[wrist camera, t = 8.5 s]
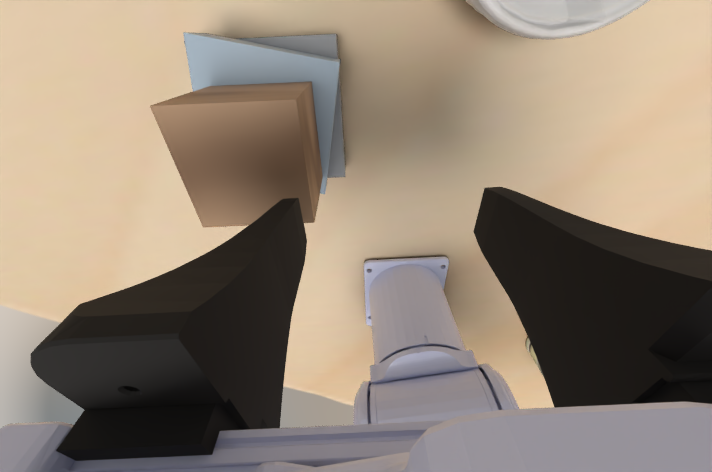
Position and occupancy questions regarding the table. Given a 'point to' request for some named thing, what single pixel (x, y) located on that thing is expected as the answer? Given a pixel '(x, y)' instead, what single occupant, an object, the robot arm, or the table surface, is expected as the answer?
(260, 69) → the tower top
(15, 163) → the table surface
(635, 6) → the ramekin
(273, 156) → the walnut cube
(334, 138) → the tower base
